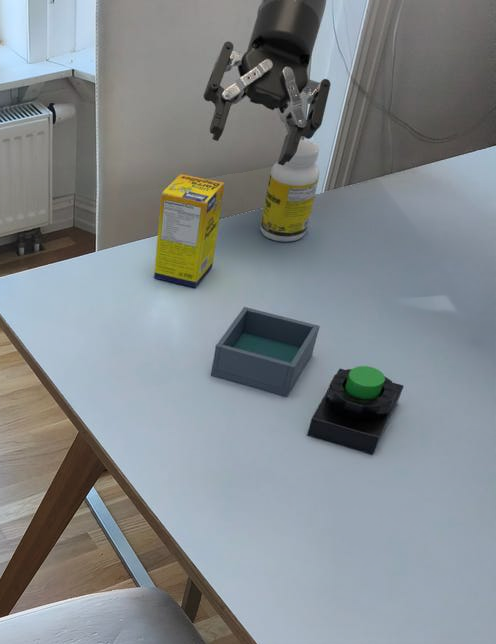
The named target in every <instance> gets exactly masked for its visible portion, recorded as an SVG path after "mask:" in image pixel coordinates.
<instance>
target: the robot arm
mask: <svg viewBox="0 0 496 644" xmlns="http://www.w3.org/2000/svg"><path fill="white" fill-rule="evenodd" d="M326 5H327V0H261V3H260V5H259V6H258V9H257V13H256V15H257V16H256V19H255V22H254V26H253V29H252V32H251V36H250V39H249V42H248V46H247V50H246V52H245V53H241V52H239V51H237V50H234V43H233V42H231V41H225V42H224V43H223V45H222V47H221V49H220V51H219V53H218V55H217V57H216V59H215V62H214V65H213V68H212V70H211V72H210V73H211V74H210V76H209V79H208V82H207V84H206V86H205V89H204V92H203V99H204V100H205V101H206V102H212V103H213V105H214V112H213V116H212V119H211V122H210V126H209V133H210V134H212V138H211V139H212V140H213V141H216V142H218V141H219V139H220V138H221V136H222V135H223V132H224V131H225V127H226V123H227V120H228V117H229V113H230V110H231V106H233V105H236V104H238V103H239V102H241V101H242V100H244V99H245V98H246V97H247V98H248V99H249V102H250V103H253V104H256V105H262V106H264V107H265V108H267V109H269V110H271V111H275V109H276V110H277V113H278V116H279V119H280V122H282V123H284V126H285V129H286V131H287V134H286V135H285V137H284V140H283V143H282V145H283V146H282V145H281V148H282V150H281V149H280V153H279V156H278V161H277V162H278V164H280V165H282V166H283V165H284V164H285V163H286V162H289V161H290V160H291V159H292V157H293V156H294V155H295V153H296V151H297V148H298V145H299V141H300V140H301V137H304V138H305V139H307V140H310V139H311V138H312V137H313V136H314V135H315V133H316V132H317V131H318V130H319V128H320V127H321V126H322V124H323V119H324V116H325V115H324V114H325V111H326V107H327V101H328V97H329V93H330V89H331V86H332V85H331V81H330V80H329V79H328V78H323V79H321V81H320V82H319V81H315V80H312V79H309V76H308V68H309V65H310V62H311V57H312V54H313V51H314V48H315V45H316V41H317V38H318V34H319V31H320V27H321V25H322V21H323V17H324V15H325V11H326ZM234 67H237V71H238V74H239V78H238V79H237V80H236V82H234V83H233V84H231V85H230V86H229V87H227V88H224V87H223V86H222V85H221V84H222V81H223V78H224V75H225V73H227V72H230V71H231V70H232V69H233V68H234ZM302 92H304V93H305V94H306V103H307V104H308V105H309V106H308V111H307V116H306V117H305V114H304V110H303V107H302V106H303V100H302V97H301V94H302Z"/></svg>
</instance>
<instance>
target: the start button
mask: <svg viewBox="0 0 496 644" xmlns="http://www.w3.org/2000/svg"><path fill="white" fill-rule="evenodd" d="M351 369H352V370H351V371H350V372H349V375H348V378H347V381H346V385H345V391H346V392H347V393H348V394H350V395H351V396H353V397H357V398H361V399H375V398H377V397H378V396H379V395H380V393H381V390H382V387H383V384H384V381H385V377H386V376H385V374H384V373H383V372H382V371H381V370H380V369H378V368H375V367H372V366H368V365H367V366H366V365H360V366H355V367H352V368H351Z"/></svg>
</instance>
